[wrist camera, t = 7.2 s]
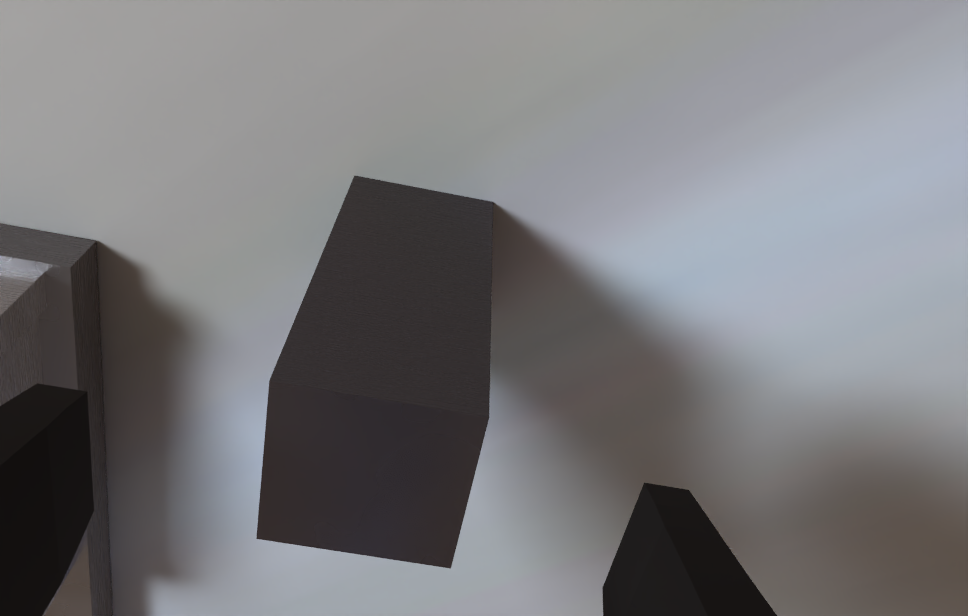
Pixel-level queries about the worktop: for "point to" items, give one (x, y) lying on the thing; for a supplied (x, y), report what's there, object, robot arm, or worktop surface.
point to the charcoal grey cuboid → (384, 380)
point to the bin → (59, 374)
